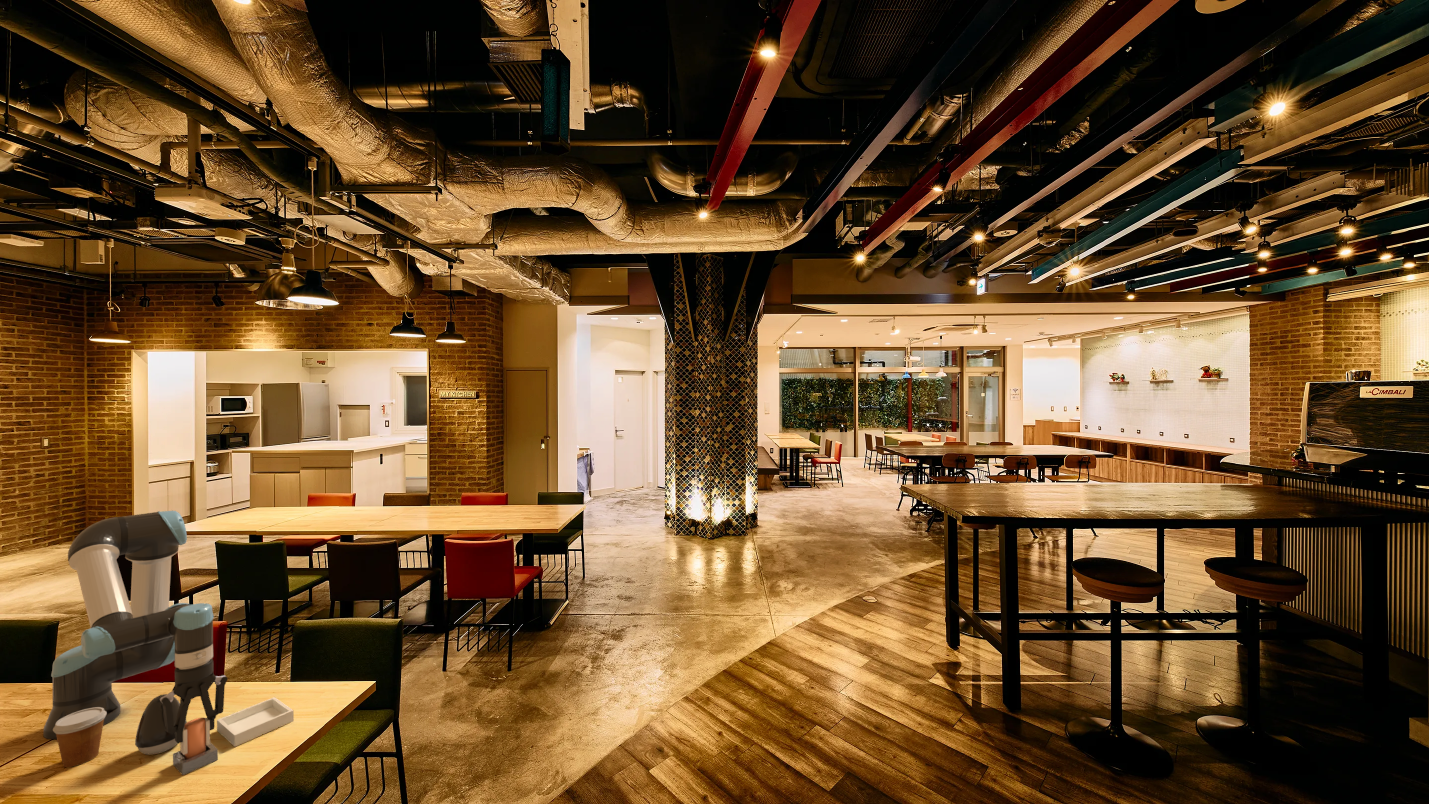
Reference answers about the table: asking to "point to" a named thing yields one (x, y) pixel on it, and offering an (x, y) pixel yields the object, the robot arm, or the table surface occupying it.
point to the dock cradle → (254, 721)
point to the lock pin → (195, 737)
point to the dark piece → (155, 728)
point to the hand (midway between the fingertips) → (195, 747)
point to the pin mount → (195, 760)
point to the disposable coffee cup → (80, 735)
